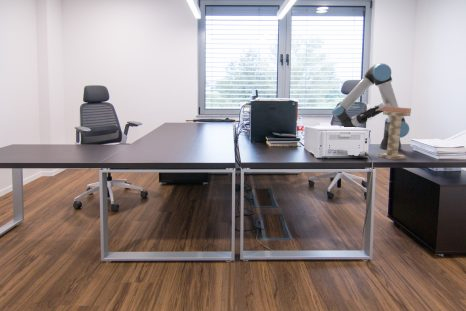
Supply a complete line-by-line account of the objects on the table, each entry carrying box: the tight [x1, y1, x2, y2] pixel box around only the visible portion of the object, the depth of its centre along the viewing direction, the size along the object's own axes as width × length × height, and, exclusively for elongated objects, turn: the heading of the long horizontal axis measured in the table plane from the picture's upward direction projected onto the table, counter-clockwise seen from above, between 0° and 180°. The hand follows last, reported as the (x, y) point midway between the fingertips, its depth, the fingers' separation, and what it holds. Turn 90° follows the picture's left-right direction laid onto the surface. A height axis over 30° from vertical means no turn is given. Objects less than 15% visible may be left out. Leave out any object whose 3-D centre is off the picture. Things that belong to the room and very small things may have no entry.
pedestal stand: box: [378, 111, 411, 161], centre depth 275 cm, size 12×12×30 cm
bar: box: [374, 105, 412, 114], centre depth 275 cm, size 24×4×3 cm, turn 36°
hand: (386, 104), depth 278 cm, fingers open, 6 cm apart
